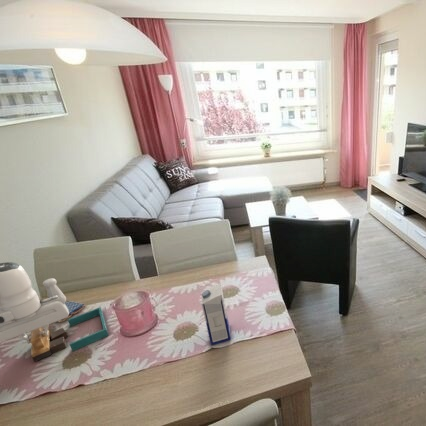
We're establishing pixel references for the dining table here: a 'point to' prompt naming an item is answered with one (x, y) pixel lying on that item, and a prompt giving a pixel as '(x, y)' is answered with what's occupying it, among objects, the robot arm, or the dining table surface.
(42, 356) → the brush
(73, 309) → the woven mat
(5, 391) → the dining table surface
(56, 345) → the chip
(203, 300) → the milk carton
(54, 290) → the salt shaker
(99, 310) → the corral
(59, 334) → the chip
